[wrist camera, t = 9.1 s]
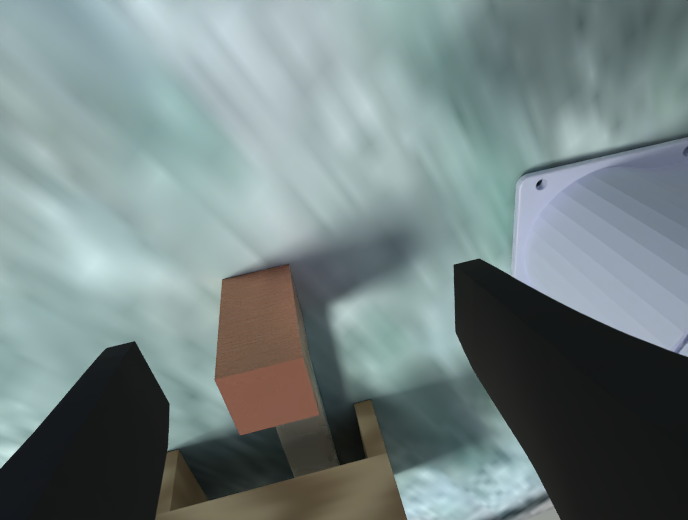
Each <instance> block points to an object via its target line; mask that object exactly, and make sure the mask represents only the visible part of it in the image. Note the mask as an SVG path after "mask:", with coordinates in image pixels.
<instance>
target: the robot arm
mask: <svg viewBox="0 0 688 520" xmlns="http://www.w3.org/2000/svg"><path fill="white" fill-rule="evenodd" d="M686 147H687V148H686ZM685 148H686V150H685V151H684V149H685ZM541 179H542V183H541V184H540V185H539V186H537V187H536V184H537V182H538V181H539V180H541ZM454 295H455V331H456V334H457V336H458V338H459V341H460V343H461V345H462V347H463V350H464V352H465V354H466V356H467V358H468V360H469V362H470V364H471V366H472V368H473V370H474V372H475V373H476V375H477V377H478V378H479V380H480V382H481V383H482V385H483V386H484V388H485V390H486V391H487V393H488V394H489V396H490V398H491V399H492V401H493V402H494V404H495V405H496V407H497V409H498V410H499V412H500V413H501V415H502V416H503V418H504V420H505V421H506V423H507V424H508V426H509V428H510V429H511V431H512V432H513V434H514V435H515V437H516V439H517V440H518V442H519V443H520V445H521V446H522V448H523V450H524V451H525V453H526V455H527V456H528V458H529V460H530V461H531V463H532V465H533V467H534V468H535V470H536V472H537V474H538V476H539V478H540V480H541V482H542V484H543V486H544V488H545V489H546V491H547V493H548V495H549V497H550V499H551V501H552V503H553V505H554V507H555V509H556V511H557V513H558V515H559V517H560V519H561V520H688V137H686V138H682V139H678V140H673V141H669V142H664V143H660V144H656V145H651V146H647V147H642V148H638V149H634V150H629V151H625V152H620V153H616V154H612V155H607V156H603V157H599V158H594V159H590V160H585V161H581V162H577V163H572V164H568V165H563V166H559V167H555V168H550V169H546V170H541V171H537V172H533V173H528V174H526V175H523V176H522V177H521V178H520V179H519V180H518V182H517V185H516V195H515V213H514V230H513V248H512V266H511V276H510V275H509V274H507V273H505V272H503V271H501V270H500V269H498V268H496V267H494V266H492V265H491V264H489V263H487V262H485V261H483V260H481V259H476V260H471V261H467V262H463V263H459V264H455V265H454ZM168 433H169V402H168V400H167V398H166V397H165V395H164V393H163V391H162V389H161V388H160V386H159V384H158V382H157V380H156V379H155V377H154V375H153V373H152V371H151V370H150V368H149V366H148V364H147V362H146V361H145V359H144V357H143V355H142V353H141V351H140V350H139V348H138V346H137V344H136V342H135V341H134V342H130V343H126V344H122V345H118V346H113V347H109V348H106V349H105V350H104V351H103V352H102V353H101V355H100V356H99V357H98V358H97V359H96V360H95V361H94V362H93V363H92V365H91V366H90V367H89V368H88V369H87V370H86V372H85V373H84V374H83V375H82V376H81V378H80V379H79V380H78V381H77V382H76V384H75V385H74V386H73V387H72V388H71V389H70V391H69V392H68V393H67V394H66V395H65V397H64V398H63V399H62V400H61V401H60V402H59V404H58V405H57V406H56V407H55V408H54V409H53V411H52V412H51V413H50V414H49V415H48V416H47V418H46V419H45V420H44V421H43V422H42V423H41V425H40V426H39V427H38V428H37V429H36V430H35V432H34V433H33V434H32V435H31V436H30V437H29V438H28V439H27V440H26V441H25V443H24V444H23V445H22V446H21V447H20V448H19V449H18V450H17V451H16V452H15V453H14V455H13V456H12V457H11V458H10V459H9V460H8V461H7V462H6V463H5V464H4V465H3V467H2V468H1V469H0V520H155V518H156V512H157V506H158V501H159V495H160V490H161V484H162V479H163V473H164V467H165V461H166V455H167V449H168Z"/></svg>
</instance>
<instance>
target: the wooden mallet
mask: <svg viewBox="0 0 688 520" xmlns="http://www.w3.org/2000/svg"><path fill="white" fill-rule="evenodd" d="M215 382H216V384H217V386H218V388H219V391H220V393H221V395H222V397H223V399H224V401H225V404H226V406H227V408H228V410H229V412H230V415H231V417H232V419H233V421H234V423H235V426H236V428H237V430H238V432H239V434H240V435H244V434H248V433H252V432H255V431H259V430H263V429H267V428H271V427H275V428H276V431H277V433H278V436H279V438H280V441H281V444H282V446H283V449H284V452H285V454H286V457H287V459H288V462H289V465H290V467H291V470H292V473H293V475H294V478H296V477H300V476H303V475H307V474H311V473H314V472H318V471H322V470H326V469H329V468H333V467H337V466H340V463H339V460H338V456H337V453H336V449H335V445H334V442H333V438H332V435H331V431H330V428H329V424H328V420H327V417H326V413H325V410H324V406H323V402H322V399H321V395H320V392H319V388H318V384H317V381H316V377H315V374H314V370H313V366H312V363H311V359H310V356H309V350H308V344H307V338H306V332H305V326H304V320H303V315H302V311H301V307H300V304H299V300H298V296H297V293H296V289H295V285H294V282H293V278H292V274H291V270H290V267H289V264H287V265H283V266H278V267H274V268H270V269H266V270H261V271H257V272H253V273H249V274H244V275H240V276H236V277H232V278H227V279H223V280H222V290H221V303H220V316H219V329H218V342H217V355H216V368H215Z"/></svg>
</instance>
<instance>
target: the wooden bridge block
mask: <svg viewBox="0 0 688 520" xmlns="http://www.w3.org/2000/svg"><path fill="white" fill-rule="evenodd" d="M354 407H355V411H356V416H357V421H358V425H359V430H360V434H361V439H362V444H363V448H364V453H365V457H366V459H363V460H359V461H355V462H352V463H348V464H344V465H341V466H337V467H333V468H329V469H326V470H322V471H318V472H314V473H311V474H307V475H303V476H300V477H296V478H292V479H288V480H285V481H281V482H277V483H274V484H270V485H266V486H262V487H259V488H255V489H251V490H247V491H244V492H240V493H236V494H233V495H229V496H225V497H221V498H218V499H214V500H210V501H208V499H207V497H206V496H205V494H204V492H203V490H202V489H201V487H200V485H199V484H198V482H197V480H196V478H195V477H194V475H193V473H192V472H191V470H190V468H189V467H188V465H187V463H186V461H185V460H184V458H183V456H182V455H181V453H180V451H179V449H178V450H174V451H170V452H167V455H166V461H165V467H164V473H163V479H162V484H161V490H160V495H159V501H158V506H157V512H156V518H155V520H407V518H406V514H405V511H404V508H403V504H402V501H401V498H400V494H399V491H398V488H397V484H396V481H395V478H394V474H393V471H392V468H391V464H390V461H389V458H388V455H387V451H386V448H385V445H384V441H383V438H382V435H381V431H380V428H379V425H378V421H377V418H376V415H375V411H374V408H373V405H372V401H371V400H367V401H363V402H359V403H356V404H354Z"/></svg>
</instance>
